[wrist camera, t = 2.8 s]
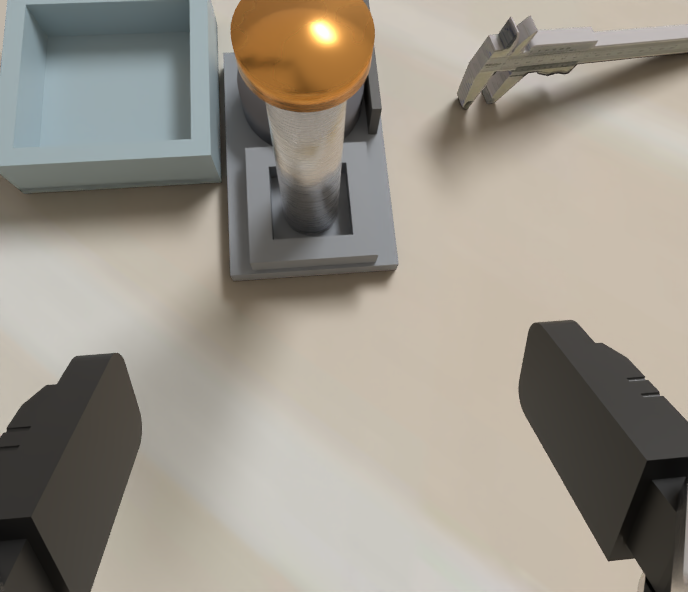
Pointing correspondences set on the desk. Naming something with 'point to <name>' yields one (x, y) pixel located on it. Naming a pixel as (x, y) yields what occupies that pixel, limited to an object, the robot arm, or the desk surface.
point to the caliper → (557, 53)
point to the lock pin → (305, 92)
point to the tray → (109, 94)
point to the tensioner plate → (265, 199)
